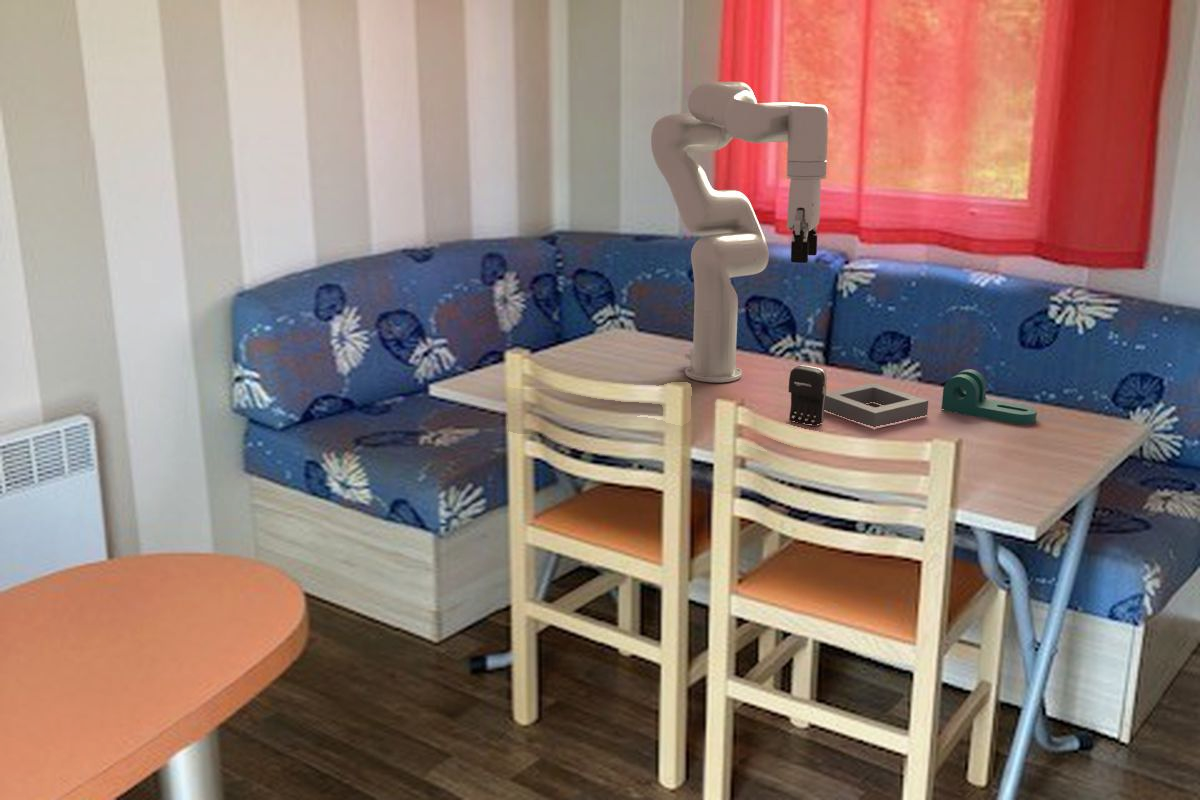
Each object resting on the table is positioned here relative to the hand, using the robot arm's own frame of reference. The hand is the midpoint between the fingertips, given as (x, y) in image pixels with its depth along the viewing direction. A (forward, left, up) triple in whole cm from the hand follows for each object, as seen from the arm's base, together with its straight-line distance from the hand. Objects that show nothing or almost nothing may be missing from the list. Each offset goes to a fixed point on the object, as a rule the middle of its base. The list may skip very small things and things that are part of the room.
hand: (803, 258), depth 241 cm
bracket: (+23, +32, -32) cm, 51 cm away
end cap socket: (+10, +12, -31) cm, 35 cm away
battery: (+7, -4, -32) cm, 33 cm away
